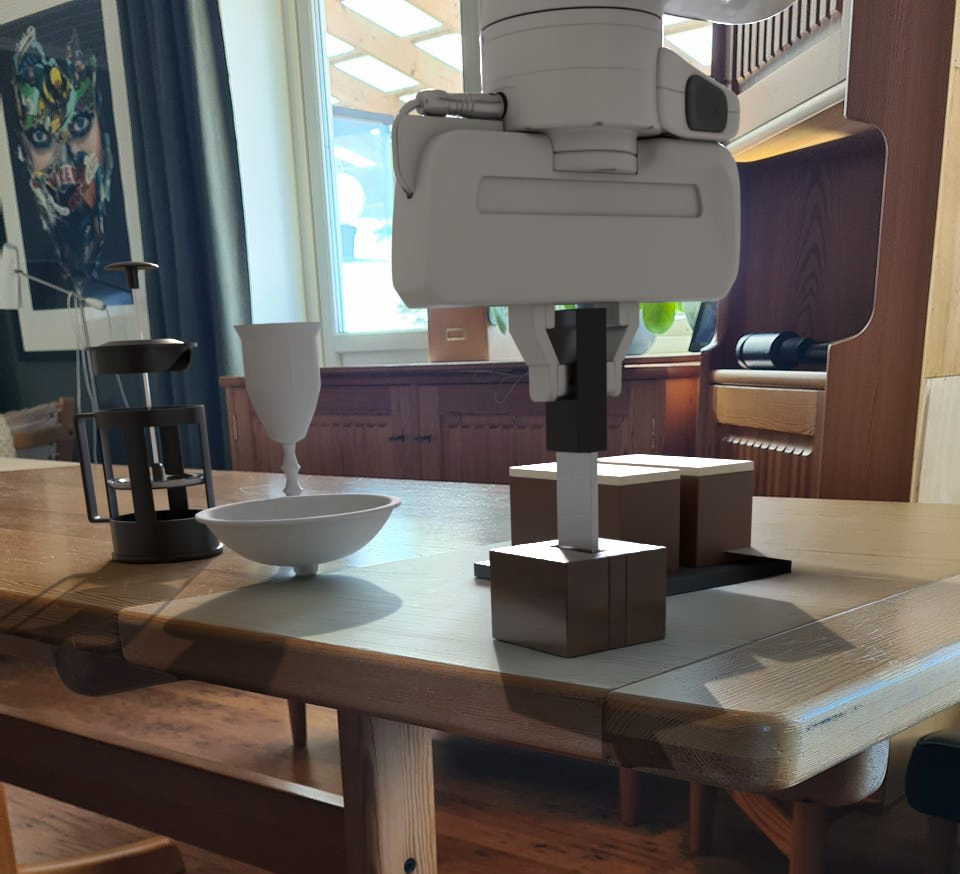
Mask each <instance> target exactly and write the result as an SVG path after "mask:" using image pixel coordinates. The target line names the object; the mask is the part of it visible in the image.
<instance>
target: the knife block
mask: <svg viewBox="0 0 960 874" xmlns="http://www.w3.org/2000/svg"><path fill="white" fill-rule="evenodd" d="M488 561H489V563H490V579H489V585H490V587H489V589H490V613H491V615H490V617H491V637H492V639H495V640H499V641H502V642H506V643H510V644H514V645H518V646H521V647H525V648H530V649H533V650H537V651H540V652H545V653H549V654H553V655H555V656H560V657H563V658H572V657H579V656H583V655H588V654H592V653H598V652H601V651H602V652H603V651H606V650H613V649H616V648H623V647H628V646H632V645H638V644H644V643H648V642H652V641H657V640H663V639H666V636H667V635H666V634H667V633H666V632H667V631H666V630H667V596H666V569H667V548H666V547H661V546H654V545H646V544H639V543H632V542H625V541H618V540H610V539H603V538H598V553H593V554H590V553H583V552H577V551H571V550H564V549H558V540H554V541H548V542H541V543H534V544H527V545H520V546H513V547H511V546H507V547H500V548H492V549H489V550H488ZM662 638H663V639H662Z"/></svg>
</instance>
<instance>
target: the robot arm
mask: <svg viewBox="0 0 960 874" xmlns="http://www.w3.org/2000/svg"><path fill="white" fill-rule="evenodd" d="M796 2H798V0H483V5H482V10H481V14H480V20H479V47H480V48H479V49H480V75H481V76H480V77H481V92H477V91H476V92H475V91H469V92H448V91H446V90H443V89H439V88H427V89H423V90H422V89H421V90H419V91H418V92H417V93H416V96H415V98H412V99H410V100H408V101H407V102H406V103H404V104H403V105H402V106H401V108H400V109H399V110H398V113H396V116H395V118H394V119H393V121H392V125H391V136H390V139H391V151H392V153H391V155H392V168H393V169H392V170H393V173H394V176H395V185H394V194H393V195H394V196H393V207H392V225H391V278H392V279H391V280H392V286H393V288H394V290H395V292H396V293H397V295H398V296H399V298H400V299H401V301H402V302H403V304H404V305H405V307H407V308H408V309H410V310H419V309H420V310H421V309H424V310H425V309H459V308H460V309H461V308H496V307H498V308H499V307H501V308H502V307H504V308H505V307H507V319H508V321H507V322H508V333H509V335H510V336H511V339H512V340H513V342H514V344H515V346H516V348H517V349H518V352H519V353H520V356H521V358H522V359H523V361H524V363H525V365H526V366H528V388H529V389H528V390H529V391H528V392H529V397H530V400H531V401H532V402H534V403H536V402H537V403H545V402H552V401H563V400H568V399H569V398H570V396H571V384H570V383H569V382H570V380H571V364H559V361H558V359H557V356H556V354H555V351H554V349H553V347H552V344H551V342H550V339H549V337H548V334H547V332H546V329H549V328H554V326H555V310H556V306H575V305H577V306H579V305H580V306H581V305H593V308H606V312H607V398H615V397H619V396H620V394H621V392H622V387H623V385H622V383H623V382H622V377H623V376H622V374H623V371H622V370H623V368H622V365H623V364H622V363H623V362H624V360H625V359H626V356H627V354H628V351H629V350H630V347H631V345H632V343H633V341H634V339H635V336H636V334H637V332H638V329H639V326H640V304H655V303H656V304H657V303H658V304H659V303H660V304H661V303H689V302H690V303H693V302H707V301H719V300H723V299H725V298H726V297H727V296H728V294H729V293H730V291H731V289H732V287H733V285H734V283H735V282H736V280H737V277H738V275H739V268H740V256H741V254H740V253H741V231H742V230H741V228H742V227H741V224H742V223H741V222H742V220H741V217H742V216H741V184H740V183H741V182H740V174H739V169H738V165H737V162H736V159H735V157H734V155H733V154H732V152H731V151H730V150H729V149H728V148H727V147H726V146H725V145H723V144H722V142H726V141H730V140H732V139H734V138H735V137H736V136H737V135H738V132H739V130H740V124H741V103H740V100H739V99H740V98H739V97H738V96H737V94H736V93H735V92H734V90H732V89H730V88H729V87H728V86H726V85H724V84H722V83H721V82H719V81H717V80H715V79H714V78H712V77H711V76H709V75H708V74H707V73H704V72H702V71H701V70H700V69H698V68H697V67H695V66H694V65H693V64H691V63H689V62H688V61H687V60H686V59H684V58H683V57H682V56H681V55H680V54H678V53H677V52H676V51H675V50H673V49H671V48H669V47H667V46H664V15H667V16H672V17H677V18H682V19H688V20H692V21H693V20H694V21H700V22H706V23H714V24H722V25H723V24H724V25H732V26H733V25H738V26H739V25H748V24H755V23H759V22H761V21H764V20H765V21H766V20H768V19H771V18H772V17H774V16H776V15H778V14H781V13H782V12H784V11H785V10H787V9H788V8H790V7H791V6H792V5H793V4H795V3H796ZM412 111H416V113H417V114H410V113H412ZM622 361H623V362H622ZM557 364H558V365H557Z"/></svg>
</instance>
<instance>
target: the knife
mask: <svg viewBox="0 0 960 874" xmlns="http://www.w3.org/2000/svg"><path fill="white" fill-rule="evenodd" d="M546 332H547V334H548V337H549V339H550V342H551V344H552V347H553V349H554V351H555V354H556V356H557V359H558V361H559V364H571V380H570V382H569V383H570V384H571V396H570V398H569V399H568V400H563V401H552V402H544V403H545V405H544V406H545V407H544V408H545V447H546V448H545V449H546V450H545V451H546V452H547V453H548V452H551V453H555V455H556V456H555V459H556V460H555V461H556V462H555V463H556V468H557V520H558V549H564V550H571V551H577V552H583V553H590V554H593V553H598V457H599V453H598V452H605V451H608V397H607V312H606V308H594V307H585V308H584V307H583V308H582V307H581V308H567V309H555V326H554V328H549V329H546ZM557 365H558V364H557Z"/></svg>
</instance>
